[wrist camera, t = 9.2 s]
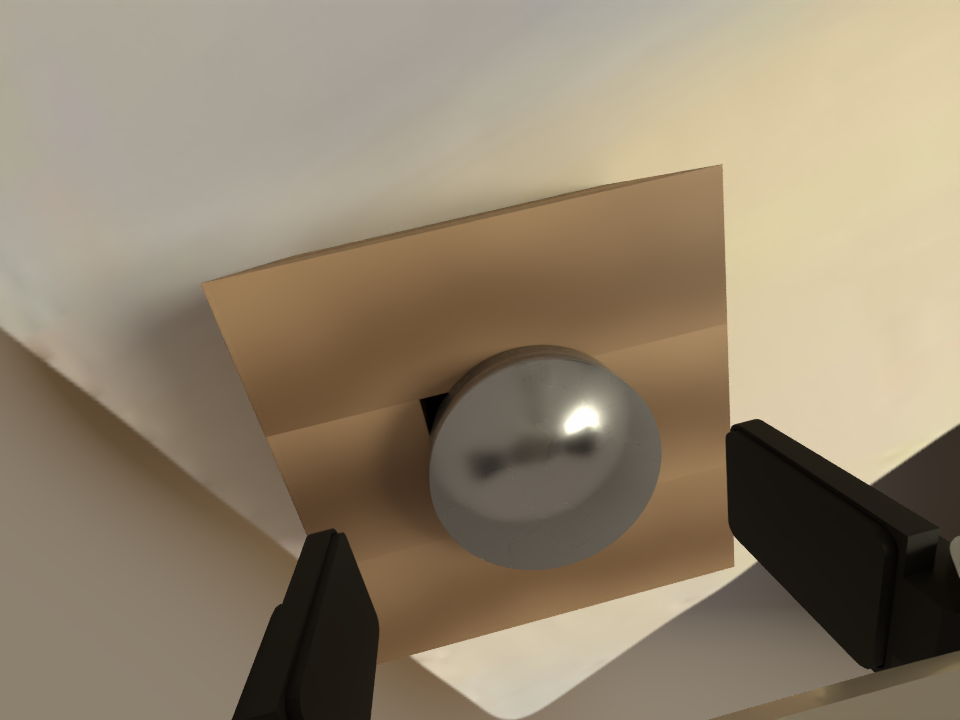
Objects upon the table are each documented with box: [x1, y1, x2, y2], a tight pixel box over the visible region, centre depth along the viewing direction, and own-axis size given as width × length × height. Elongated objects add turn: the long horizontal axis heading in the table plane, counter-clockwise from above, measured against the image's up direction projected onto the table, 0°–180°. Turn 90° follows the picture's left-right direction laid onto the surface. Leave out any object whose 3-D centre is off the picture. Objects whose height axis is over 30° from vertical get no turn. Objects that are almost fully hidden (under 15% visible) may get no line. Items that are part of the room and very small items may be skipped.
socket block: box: [201, 164, 734, 665], centre depth 18 cm, size 14×14×8 cm
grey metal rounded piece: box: [429, 345, 662, 570], centre depth 16 cm, size 7×7×9 cm
